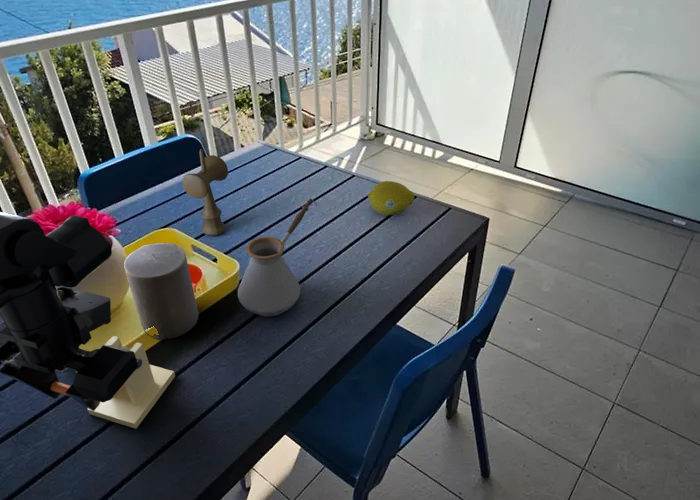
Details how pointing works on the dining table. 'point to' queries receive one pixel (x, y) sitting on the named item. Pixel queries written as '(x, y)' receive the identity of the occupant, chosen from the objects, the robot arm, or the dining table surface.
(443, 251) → the dining table surface
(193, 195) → the kendama
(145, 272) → the pillar candle
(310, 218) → the dining table surface
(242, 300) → the coffee pot
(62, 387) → the lever
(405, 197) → the lemon
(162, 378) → the bracket
